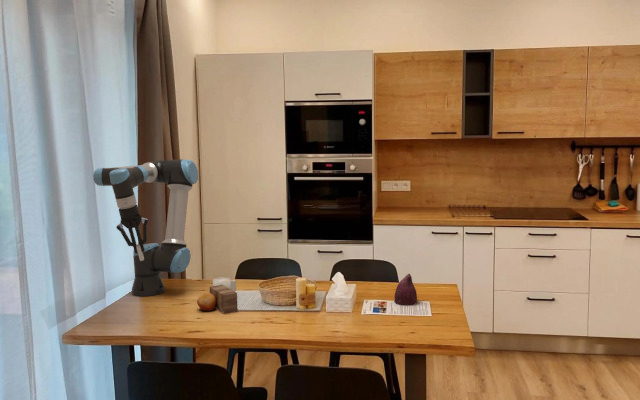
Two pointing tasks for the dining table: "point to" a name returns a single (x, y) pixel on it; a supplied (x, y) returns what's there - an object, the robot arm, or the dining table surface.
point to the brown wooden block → (224, 298)
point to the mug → (225, 282)
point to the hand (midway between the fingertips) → (142, 259)
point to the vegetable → (405, 292)
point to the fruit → (207, 302)
